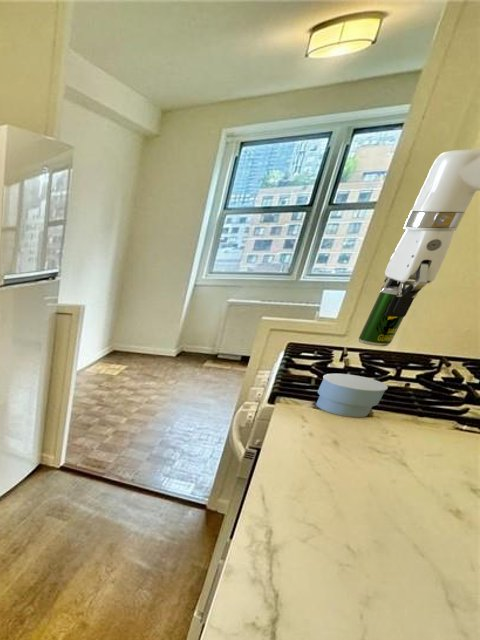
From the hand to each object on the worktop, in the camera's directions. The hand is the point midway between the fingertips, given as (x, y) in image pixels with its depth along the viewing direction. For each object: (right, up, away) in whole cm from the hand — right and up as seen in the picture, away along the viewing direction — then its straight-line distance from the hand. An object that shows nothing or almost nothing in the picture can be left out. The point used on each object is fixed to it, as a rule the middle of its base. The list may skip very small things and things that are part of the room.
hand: (388, 312), depth 105 cm
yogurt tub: (0, -20, +11) cm, 23 cm away
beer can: (0, -6, +3) cm, 7 cm away
